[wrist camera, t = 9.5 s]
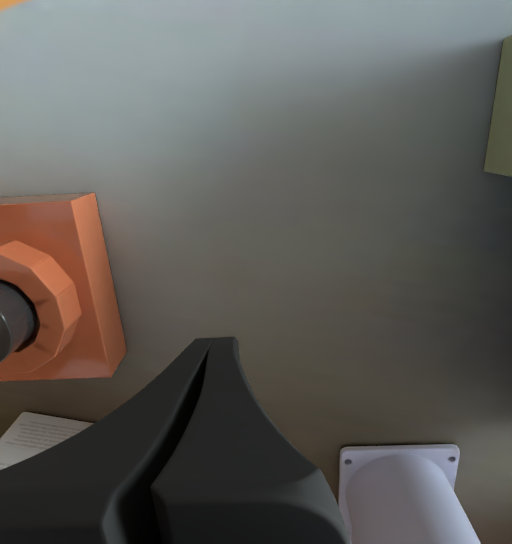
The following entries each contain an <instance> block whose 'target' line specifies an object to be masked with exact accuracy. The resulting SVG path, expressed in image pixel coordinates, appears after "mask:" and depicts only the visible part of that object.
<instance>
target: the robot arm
mask: <svg viewBox="0 0 512 544" xmlns="http://www.w3.org/2000/svg"><path fill="white" fill-rule="evenodd" d="M459 455H460V451H459V449H458V447H457V446H456V445H454V444H433V445H394V446H355V447H344V448H342V449H341V450H340V465H339V498H338V504H337V502H336V499H335V497H334V495H333V493H332V491H331V489H330V487H329V485H328V483H327V481H326V479H325V477H324V475H323V473H322V471H321V470H320V469H319V468H317V467H316V466H315V465H314V464H313V463H311V462H310V461H309V460H308V459H307V458H306V457H305V456H304V455H302V454H301V453H300V452H299V451H298V450H297V449H296V448H295V447H294V446H293V445H292V444H291V443H290V442H289V441H288V440H287V439H286V437H285V436H284V435H283V434H282V433H281V431H280V430H279V429H278V428H277V427H276V425H275V424H274V423H273V422H272V421H271V419H270V418H269V417H268V415H267V414H266V412H265V411H264V409H263V408H262V406H261V405H260V403H259V402H258V400H257V398H256V396H255V395H254V393H253V391H252V389H251V387H250V385H249V383H248V381H247V379H246V376H245V374H244V371H243V368H242V366H241V363H240V357H239V346H238V340H237V339H236V338H235V337H219V338H197V339H195V340H194V341H193V342H192V343H191V344H190V345H189V346H188V347H187V348H186V349H185V350H184V351H183V352H182V353H181V354H180V355H179V356H178V357H177V358H176V359H175V360H174V361H173V362H172V363H171V364H170V365H169V366H168V367H167V368H166V369H165V370H164V371H163V372H162V373H161V374H159V375H158V376H157V377H156V378H155V379H154V380H153V381H151V382H150V383H149V384H148V385H147V386H146V387H145V388H143V389H142V390H141V391H140V392H139V393H137V394H136V395H135V396H134V397H132V398H131V399H130V400H128V401H127V402H126V403H124V404H123V405H121V406H120V407H119V408H117V409H116V410H114V411H113V412H111V413H110V414H109V415H107V416H105V417H104V418H102V419H100V420H99V421H97V422H95V423H94V424H92V425H91V426H89V427H87V428H86V429H84V430H82V431H81V432H79V433H77V434H76V435H74V436H72V437H70V438H68V439H66V440H64V441H63V442H61V443H59V444H57V445H55V446H53V447H51V448H49V449H47V450H45V451H43V452H41V453H38V454H36V455H34V456H32V457H30V458H28V459H25V460H23V461H21V462H18V463H16V464H13V465H11V466H9V467H6V468H4V469H2V470H0V544H481V543H480V541H479V539H478V537H477V535H476V533H475V531H474V529H473V527H472V525H471V523H470V522H469V520H468V518H467V516H466V514H465V512H464V510H463V508H462V506H461V504H460V502H459V501H458V499H457V497H456V495H455V493H454V491H453V490H454V484H455V478H456V472H457V467H458V461H459ZM449 457H450V458H449ZM346 459H349V460H346Z"/></svg>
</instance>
